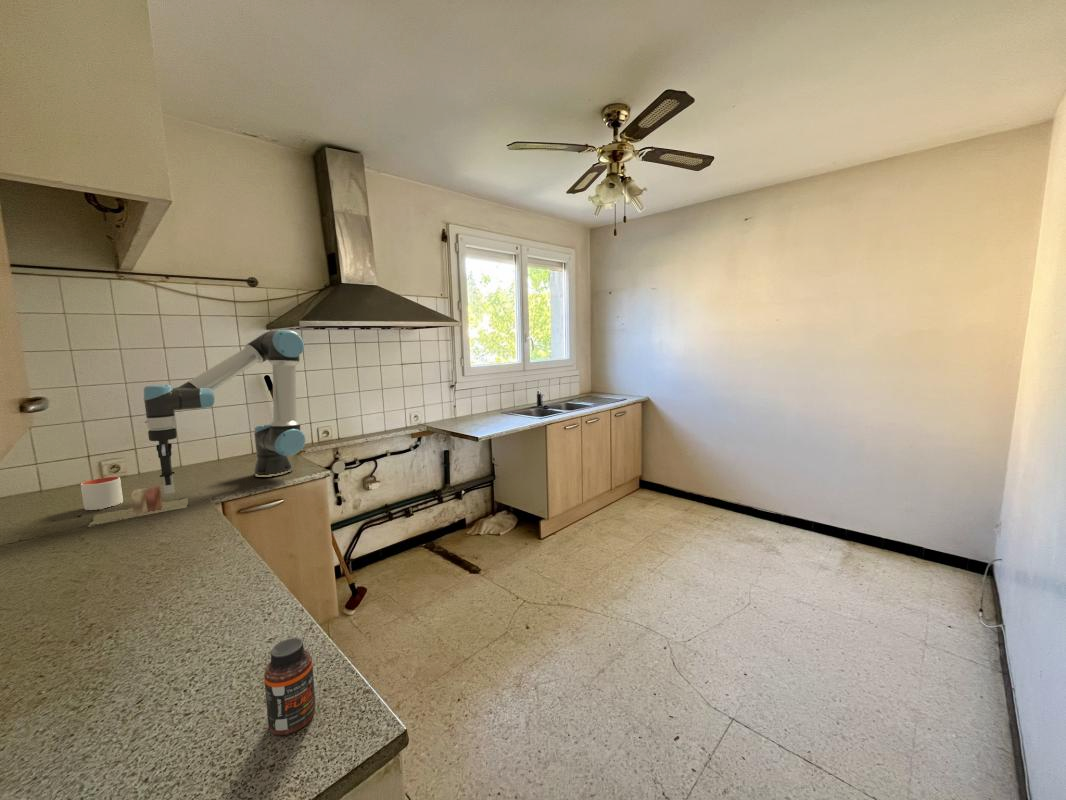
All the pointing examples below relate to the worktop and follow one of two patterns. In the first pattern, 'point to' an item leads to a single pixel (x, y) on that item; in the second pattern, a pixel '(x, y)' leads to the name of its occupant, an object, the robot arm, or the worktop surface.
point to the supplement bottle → (289, 687)
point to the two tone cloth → (146, 500)
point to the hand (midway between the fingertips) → (169, 493)
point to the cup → (101, 493)
